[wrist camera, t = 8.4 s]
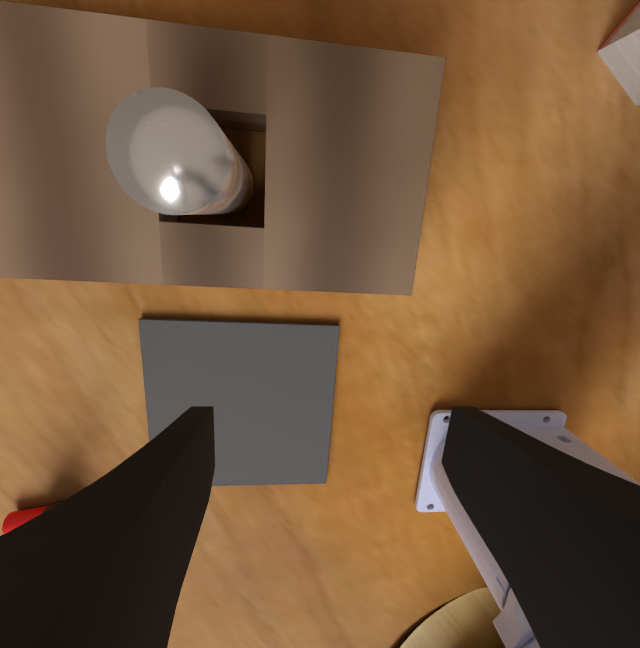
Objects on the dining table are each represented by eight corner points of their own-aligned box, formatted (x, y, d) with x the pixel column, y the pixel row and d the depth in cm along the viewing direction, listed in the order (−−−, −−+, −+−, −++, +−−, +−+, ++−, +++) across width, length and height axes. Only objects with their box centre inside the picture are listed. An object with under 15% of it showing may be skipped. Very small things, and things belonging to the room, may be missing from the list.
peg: (252, 152, 17) (224, 92, 9) (253, 215, 18) (228, 217, 10) (190, 148, 17) (97, 82, 8) (194, 212, 18) (114, 212, 9)
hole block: (418, 84, 17) (445, 57, 14) (393, 284, 20) (411, 295, 17) (-5, 34, 15) (-74, -9, 12) (34, 267, 18) (-13, 276, 15)
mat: (338, 324, 20) (339, 326, 20) (325, 479, 23) (326, 483, 23) (141, 317, 19) (138, 319, 19) (155, 482, 22) (153, 486, 22)
